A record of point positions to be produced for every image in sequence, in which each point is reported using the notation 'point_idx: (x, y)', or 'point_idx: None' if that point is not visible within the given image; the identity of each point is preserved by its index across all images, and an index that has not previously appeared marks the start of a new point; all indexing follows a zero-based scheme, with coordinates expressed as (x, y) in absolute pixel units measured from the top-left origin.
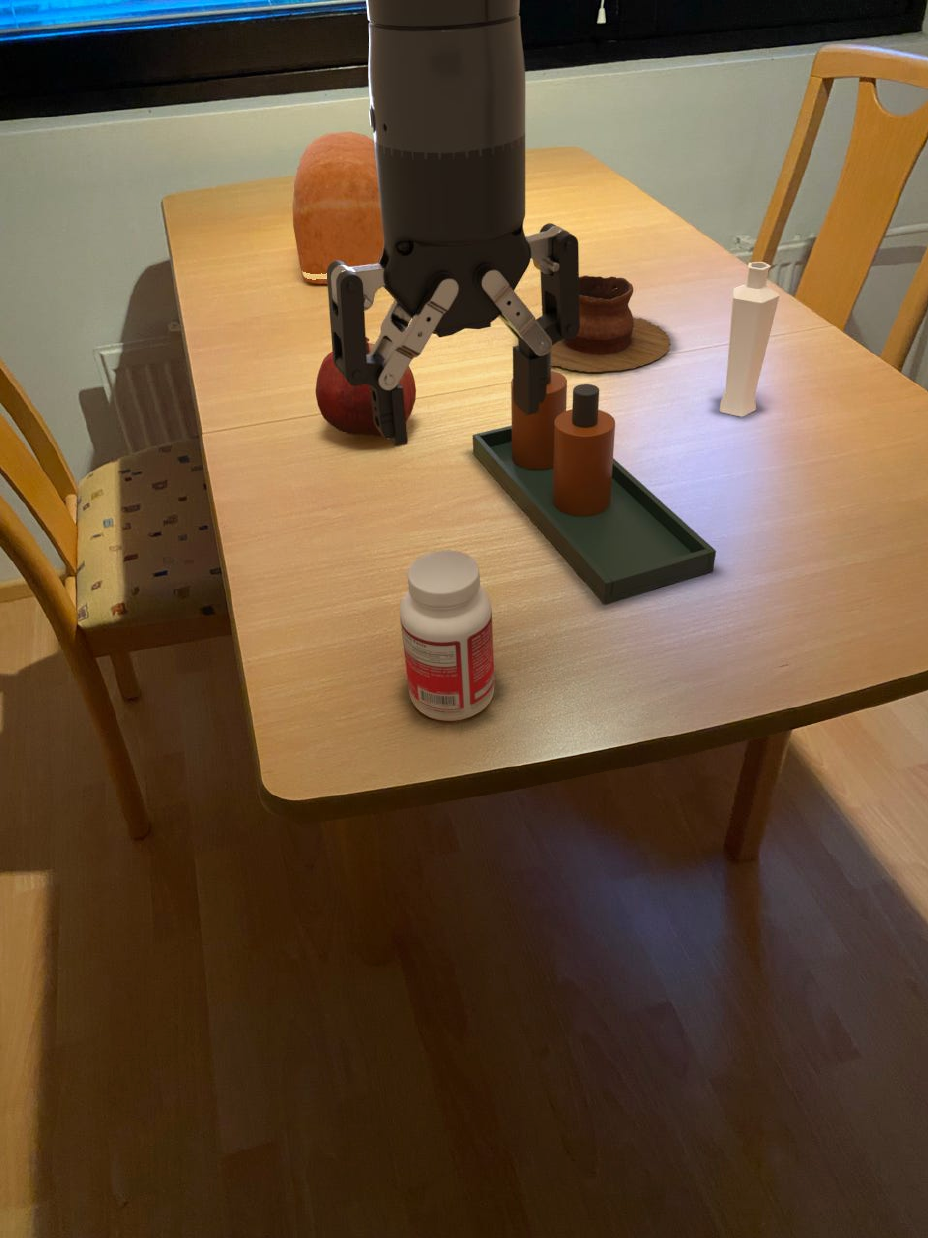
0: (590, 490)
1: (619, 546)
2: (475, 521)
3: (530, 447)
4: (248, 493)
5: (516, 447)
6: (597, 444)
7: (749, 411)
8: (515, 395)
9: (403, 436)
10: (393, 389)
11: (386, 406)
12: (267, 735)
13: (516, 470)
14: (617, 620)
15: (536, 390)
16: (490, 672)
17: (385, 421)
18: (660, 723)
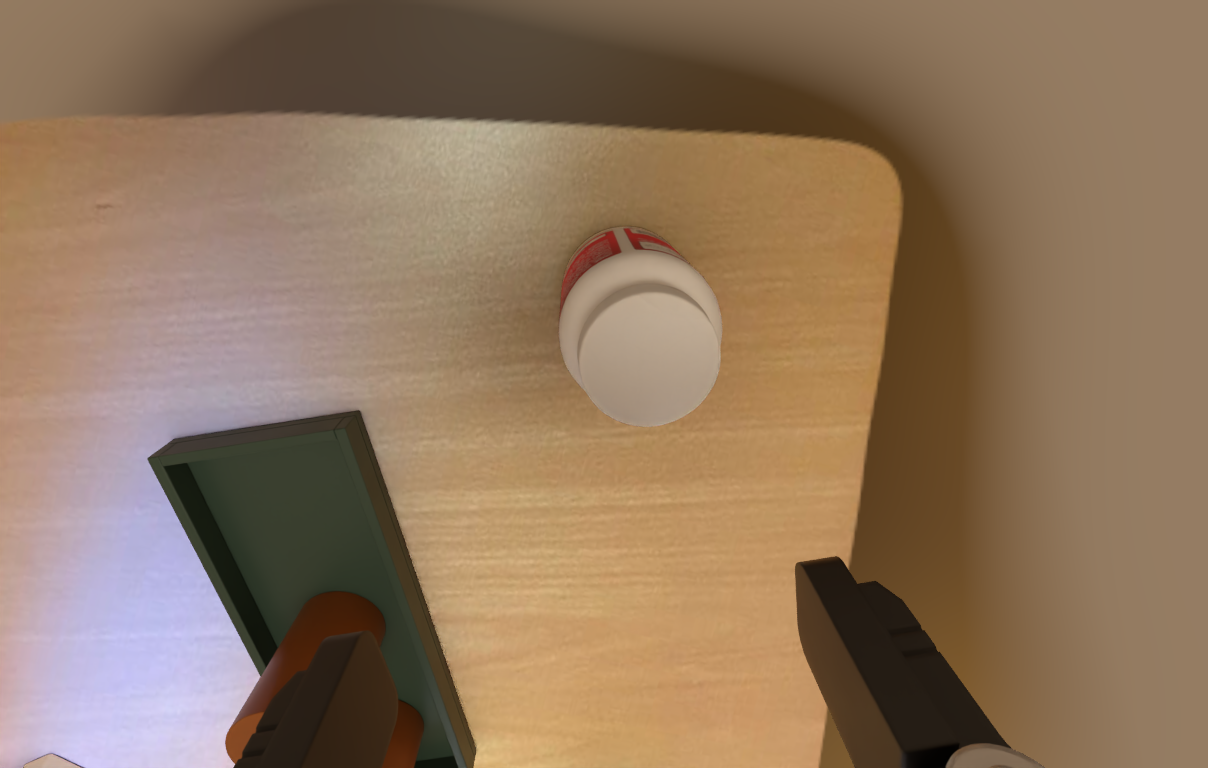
0: (320, 624)
1: (307, 518)
2: (505, 618)
3: (392, 735)
4: (788, 730)
5: (413, 741)
6: (273, 695)
7: (35, 761)
8: (387, 722)
9: (822, 576)
10: (945, 748)
11: (927, 684)
12: (884, 278)
13: (423, 703)
14: (348, 373)
15: (299, 703)
16: (574, 261)
17: (901, 634)
18: (333, 137)
